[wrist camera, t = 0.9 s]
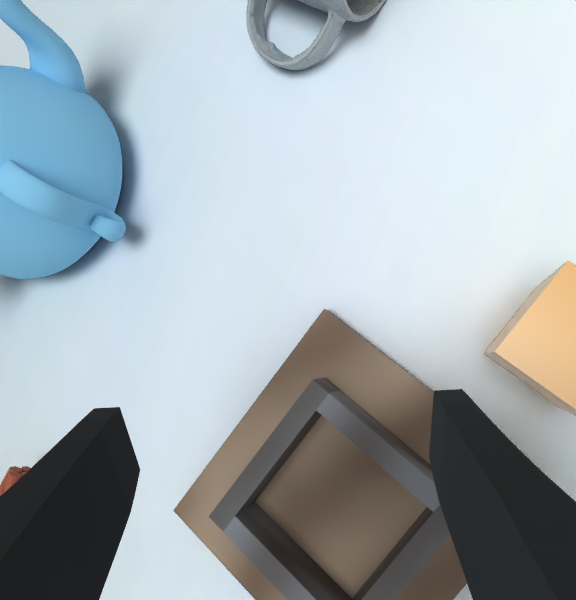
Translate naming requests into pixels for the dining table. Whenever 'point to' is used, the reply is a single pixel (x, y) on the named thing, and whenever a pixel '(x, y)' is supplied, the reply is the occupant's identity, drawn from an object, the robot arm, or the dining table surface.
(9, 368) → the dining table surface
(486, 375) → the dining table surface
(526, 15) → the dining table surface
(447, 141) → the dining table surface
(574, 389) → the orange rectangular block
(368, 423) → the holder
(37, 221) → the teapot
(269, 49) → the ceramic mug
